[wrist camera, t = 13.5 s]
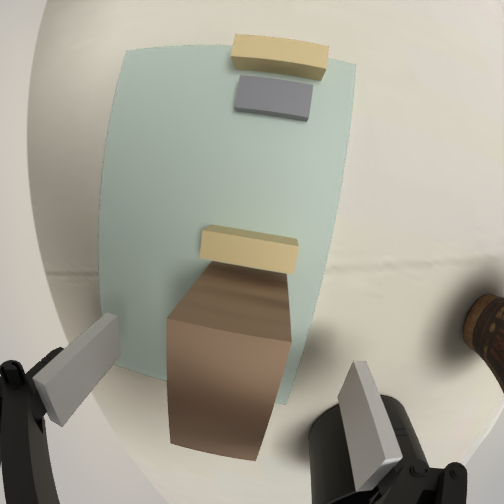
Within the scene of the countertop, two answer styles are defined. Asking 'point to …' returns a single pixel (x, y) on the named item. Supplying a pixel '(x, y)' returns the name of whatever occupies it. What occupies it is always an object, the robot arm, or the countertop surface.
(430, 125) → the countertop surface
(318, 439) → the mug
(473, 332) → the cup
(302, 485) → the countertop surface
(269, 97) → the wall board
